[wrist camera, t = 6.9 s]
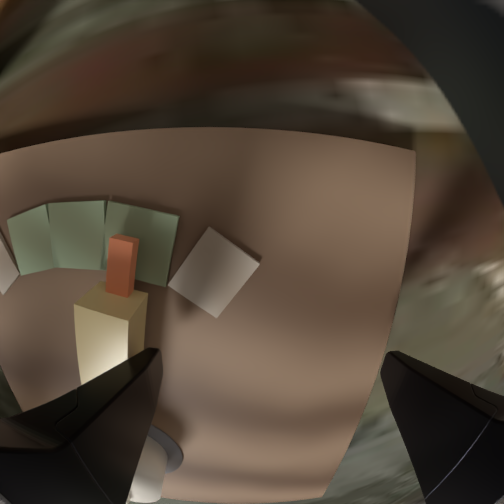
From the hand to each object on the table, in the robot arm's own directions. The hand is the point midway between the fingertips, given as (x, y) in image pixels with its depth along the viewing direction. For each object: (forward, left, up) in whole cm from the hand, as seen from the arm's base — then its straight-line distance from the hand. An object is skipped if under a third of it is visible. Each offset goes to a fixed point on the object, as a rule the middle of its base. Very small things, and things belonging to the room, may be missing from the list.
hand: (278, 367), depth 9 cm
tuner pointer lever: (-3, +6, -1) cm, 7 cm away
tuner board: (-4, +5, -3) cm, 7 cm away
